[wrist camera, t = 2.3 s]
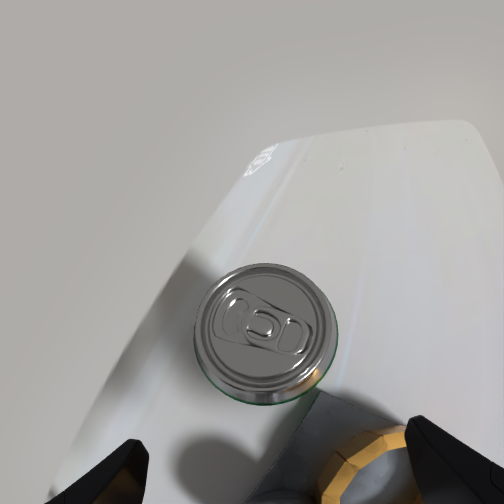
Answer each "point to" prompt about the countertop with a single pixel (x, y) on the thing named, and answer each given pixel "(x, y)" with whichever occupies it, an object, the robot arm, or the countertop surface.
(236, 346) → the soda can
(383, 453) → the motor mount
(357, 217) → the countertop surface
